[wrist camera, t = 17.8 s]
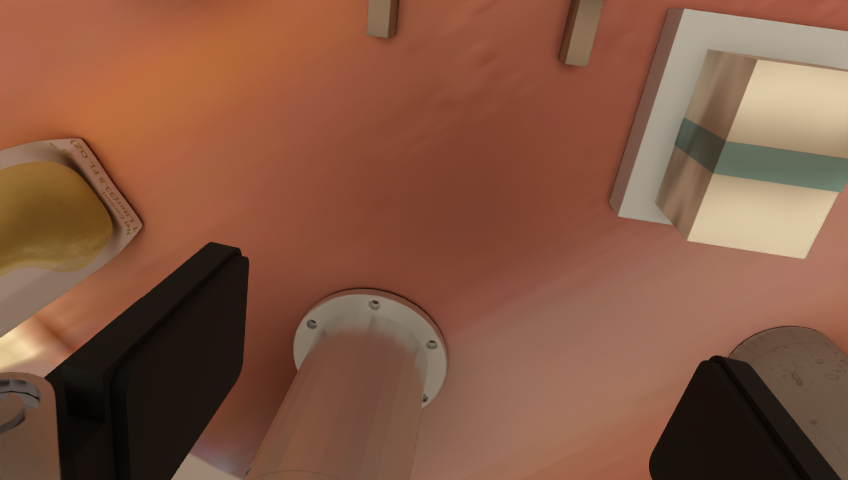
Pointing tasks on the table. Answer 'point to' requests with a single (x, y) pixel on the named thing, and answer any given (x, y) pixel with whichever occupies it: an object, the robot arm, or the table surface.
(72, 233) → the juice carton
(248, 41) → the table surface
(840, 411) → the thermos bottle
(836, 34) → the plate
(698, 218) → the parcel
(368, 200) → the table surface
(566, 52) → the shelf bay
